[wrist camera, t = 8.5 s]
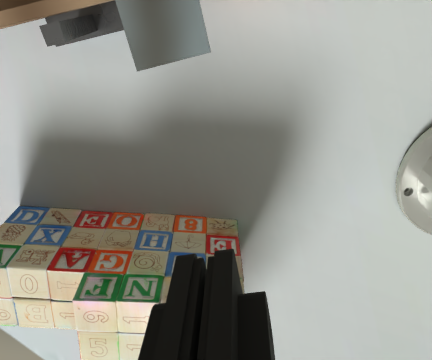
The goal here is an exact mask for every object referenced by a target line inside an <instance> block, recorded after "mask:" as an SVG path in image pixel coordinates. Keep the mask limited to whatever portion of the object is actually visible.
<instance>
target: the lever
mask: <svg viewBox="0 0 432 360" xmlns="http://www.w3.org/2000/svg"><path fill="white" fill-rule="evenodd" d="M109 1H113V0H0V29H3V28H6V27H10V26H14V25H18V24H22V23H26V22H30V21H34V20H38V19H42V18H46V17H50V16H54V15H58V14H62V13H66V12H70V11H74V10H77V9H81V8H85V7H89V6H93V5H97V4H101V3H105V2H109ZM115 1H116V5H117V8H118V11H119V14H120V18H121V21H122V24H123V27H124V31H125V34H126V37H127V40H128V43H129V47H130V50H131V53H132V56H133V60H134V63H135V66H136V69H137V71H141V70H144V69H148V68H152V67H156V66H160V65H164V64H167V63H171V62H175V61H179V60H183V59H187V58H190V57H194V56H198V55H202V54H206V53H210V52H211V51H210V46H209V42H208V38H207V33H206V29H205V24H204V20H203V15H202V11H201V7H200V2H199V0H115Z"/></svg>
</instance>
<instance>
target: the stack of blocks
mask: <svg viewBox="0 0 432 360" xmlns="http://www.w3.org/2000/svg"><path fill="white" fill-rule="evenodd" d="M226 249H234V252H235V257H236V261H237V266H238V271H239V276H240V281H241V286H242V291H243V294H244V285H243V282H244V277H243V269H242V260H241V254H240V245H239V238H238V224H237V220H232V219H218V218H207V217H199V216H184V215H170V214H155V213H145V214H140V213H137V214H136V213H121V212H114V213H112V212H98V211H82V210H79V209H62V208H45V207H26V206H19V207H18V208H17V209H16V210H15V211H14V212H13V213H12V214H11V216H10V217H9V218H8V219H7V220H6V221H5V222H4V224H2V225H1V226H0V325H3V326H17V325H18V326H20V327H34V328H57V329H76V330H77V332H78V338H79V347H80V358H81V360H138V357H139V354H140V350H141V346H142V342H143V339H144V335H145V331H146V328H147V324H148V320H149V317H150V313H151V309H152V307H153V305H154V304H160V303H166V299H167V294H168V290H169V286H170V281H171V277H172V273H173V268H174V264H175V260H176V257H177V256H179V255H187V254H196V255H197V258H204V261H205V265H206V269H207V261H208V257H210V256H214V252H215V251H218V250H226Z"/></svg>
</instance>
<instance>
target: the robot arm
mask: <svg viewBox="0 0 432 360" xmlns="http://www.w3.org/2000/svg"><path fill="white" fill-rule="evenodd" d="M396 196H397V200H398V204H399V206H400V208H401V210H402V212H403V213H404V214H405V215H406V217H407V218H408V219H409V221H411V222H412V223H413V224H414V225H415V226H416V227H417V228H419V229H421V230H422V231H424V232H426V233H428V234H431V235H432V127H431V128H429V129H428V130H427V131H426V132H424V133H423V134H422V135H421V136H420V137H419V138H418V139H417V140H416V141H415V142H414V143H413V145H412V146H411V147H410V149H409V150H408V152H407V153H406V155H405V156H404V158H403V160H402V162H401V165H400V167H399V170H398V174H397V178H396ZM138 360H275V355H274V345H273V337H272V329H271V322H270V315H269V309H268V303H267V298H266V293H265V291H264V292H255V293H247V294H243V291H242V286H241V281H240V276H239V271H238V266H237V261H236V257H235V252H234V249H226V250H218V251H215V252H214V256H210V257H208V261H207V269H206V265H205V261H204V258H197V255H196V254H187V255H179V256H177V257H176V260H175V264H174V268H173V273H172V277H171V281H170V286H169V290H168V294H167V299H166V303H160V304H154V305H153V307H152V309H151V313H150V317H149V320H148V324H147V328H146V331H145V335H144V339H143V342H142V346H141V350H140V354H139V357H138Z"/></svg>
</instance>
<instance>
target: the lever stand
mask: <svg viewBox="0 0 432 360" xmlns="http://www.w3.org/2000/svg"><path fill="white" fill-rule="evenodd" d="M45 19H46V22H47V24H46V25H42V26H40V29H41V32H42V34H43V37H44V39H45V42H46V44H47V47H48V46H52V45H56V47H57V46H61V45H65V44H69V43H73V42H77V41H81V40H85V39H89V38H93V37H97V36H101V35H105V34H109V33H113V32H117V31H121V30H124V27H123V24H122V21H121V18H120V14H119V11H118V8H117V5H116V1H115V0H113V1H109V2H105V3H101V4H97V5H93V6H89V7H85V8H81V9H77V10H74V11H70V12H66V13H62V14H58V15H54V16H50V17H46V18H45Z"/></svg>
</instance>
